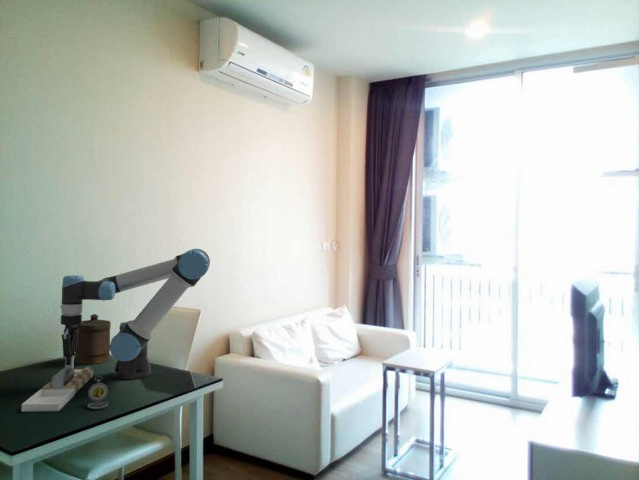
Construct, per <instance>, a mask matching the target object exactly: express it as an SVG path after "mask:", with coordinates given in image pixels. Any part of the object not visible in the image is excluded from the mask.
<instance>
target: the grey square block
mask: <svg viewBox="0 0 639 480" xmlns="http://www.w3.org/2000/svg"><path fill="white" fill-rule="evenodd" d="M56 374H68V379H67V383H69V382H70V381H71V371H61V370H59V371H58V372H57V373H56Z"/></svg>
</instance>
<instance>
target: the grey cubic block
mask: <svg viewBox="0 0 639 480" xmlns="http://www.w3.org/2000/svg"><path fill="white" fill-rule="evenodd" d="M67 379H68V374H57V373H56V374H55V375H53V376H52V377H51V380H52V388H64V387H65V386H66V384H67Z"/></svg>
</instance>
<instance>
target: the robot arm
mask: <svg viewBox="0 0 639 480" xmlns="http://www.w3.org/2000/svg"><path fill="white" fill-rule="evenodd" d="M210 264H211V260H210V256H209V255H208V254H207V252H206V251H204V250H203V249H200V248H194V249H193V248H192V249H189V250H186V251H185V252H184V253H181V254H178V255H175V256H174V258H172V259H168V260H165V261H162V262H158V263H154V264H152V265H148V266H144V267H141V268H137V269H134V270H130V271H126V272H123V273H119V274H117V275H112V276H108V277H104V278H102V279H100V280H96V281H95V280H94V281H91V280H90V281H89V280H85V279H84V276H83V275H78V274H77V275H76V274H75V275H74V274H73V275H71V274H70V275H65V276H64V277H62V284H61V285H62V286H61V305H60V306H59V307H60V310H61V311H60V312H61V315H60V324H61V325H63V326H64V330H63V333H62V334H61V340H62V341H61V342H62V353H63V356H62V357H63V358H64V359H65V363H64V365H65V366H64V368H74V366H75V365H74V363H75V355H77V354H75V353H76V349H77V341H78V334H79V328H77V325H78V324H81V322H82V321H83V320H82V319H83V318H82V316H83V315H82V313H83V300H84V301H86V300H90V301H103V302H104V301H112V300H114V299H115V296H116V294H119V293H122V292H125V291H128V290H132V289H135V288H140V287H143V286H148V285H149V284H153V283H156V282H160V281H163V280H166V281H165V282H164V283H163V284H162V286H161V287H160V288H159V290H158V291H157V292H156V293H155V294H154V296H152V298H151V299H149V301H148V303H147V304H146V305H145V306H144V307H143V308H142V310H141V311H140V312H139V313H138V314H137V316H136V317H135V318H134V319H131V320H128V321H123V322H120V323H119V327H118V328H119V332H118V333H117V334H116V335H114V336H113V337H112V339H110V354H111V355H112V357H114V358H115V359H116V360H117V361H116V363H115V367H114V369H113V377H114V378H117V379H121V380H137V379H141V378H146V377H148V376H150V375H151V372H152V368H151V363H150V362H149V358H148V347H149V346H148V343H149V341H150V340H151V339H152V332H153V331H154V330H155V328H157V326H158V325H159V323H161V321H162V320H163V318H164V317H165V316H166V315H167V313H169V311H170V310H171V309H172V308H173V307H174V305H175V304H176V303H177V301H179V299H181V297H182V296H183V294H184V293H185V292H186V291H187V290H188V288H194V287H195V286H196V285H197V284H198V282H199V281H200V280H201V279H202V278H203V277H204V276H205V275H206V274H207V272H208V271H209V269H210ZM74 369H75V368H74Z"/></svg>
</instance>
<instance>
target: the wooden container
mask: <svg viewBox="0 0 639 480" xmlns="http://www.w3.org/2000/svg"><path fill="white" fill-rule="evenodd" d="M98 318H99V315H98V314H97V313H94V314H91V315H90V319H89V320H88V319H87V320H82V322H81V324H78V325H77V328H79V334H78V341H77V349H76V353H75V354H77V355H74V363H77V364H80V365H96V364H98V365H99V364H102V363H103V364H104V363H106V362H108V361H109V360H110V354H111V352H110V343H111V327H112V326H111V321H110V320H107V319H98Z"/></svg>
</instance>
